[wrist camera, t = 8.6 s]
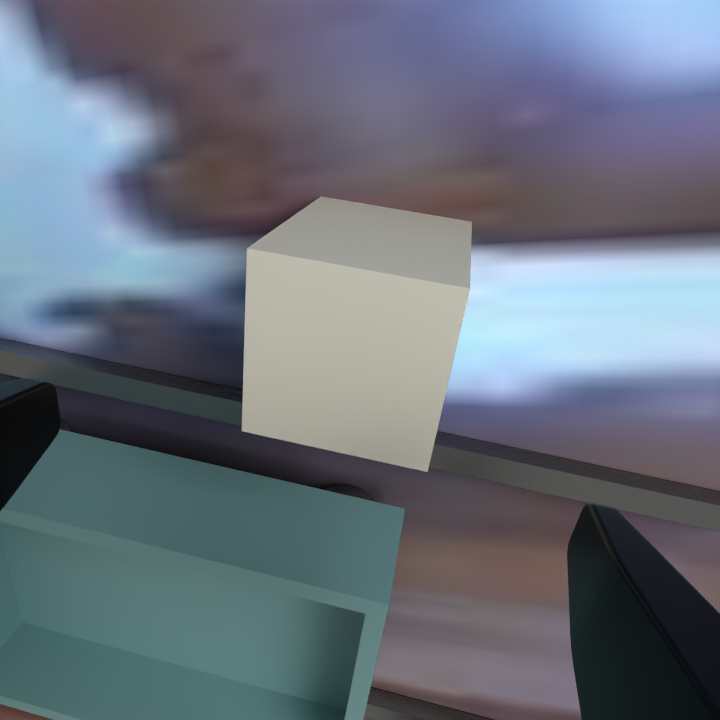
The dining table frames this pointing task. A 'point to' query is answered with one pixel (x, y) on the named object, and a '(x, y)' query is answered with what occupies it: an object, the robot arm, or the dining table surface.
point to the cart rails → (450, 453)
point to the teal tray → (188, 590)
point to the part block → (354, 329)
